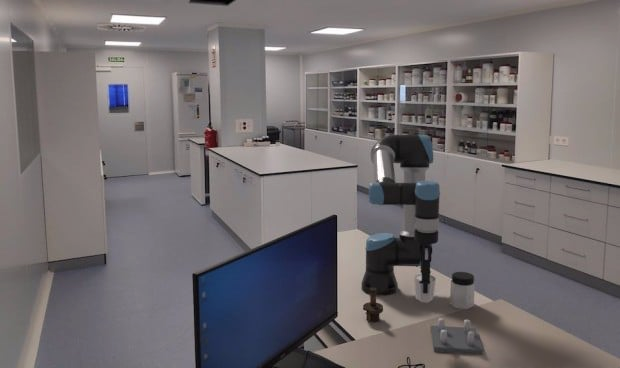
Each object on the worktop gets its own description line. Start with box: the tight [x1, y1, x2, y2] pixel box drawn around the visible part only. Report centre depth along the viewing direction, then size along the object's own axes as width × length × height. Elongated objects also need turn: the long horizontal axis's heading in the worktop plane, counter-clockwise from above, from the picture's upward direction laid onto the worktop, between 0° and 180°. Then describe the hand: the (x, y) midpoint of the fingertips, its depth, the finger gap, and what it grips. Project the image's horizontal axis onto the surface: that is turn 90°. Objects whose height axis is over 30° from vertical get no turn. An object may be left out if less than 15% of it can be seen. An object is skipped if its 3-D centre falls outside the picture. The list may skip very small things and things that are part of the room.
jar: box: [449, 271, 476, 310], centre depth 194 cm, size 9×8×12 cm
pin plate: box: [430, 317, 484, 355], centre depth 166 cm, size 15×15×6 cm
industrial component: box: [362, 288, 384, 323], centre depth 183 cm, size 9×7×12 cm
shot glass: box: [413, 273, 437, 302], centre depth 165 cm, size 7×7×7 cm
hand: (424, 297), depth 166 cm, fingers closed on shot glass, 7 cm apart
